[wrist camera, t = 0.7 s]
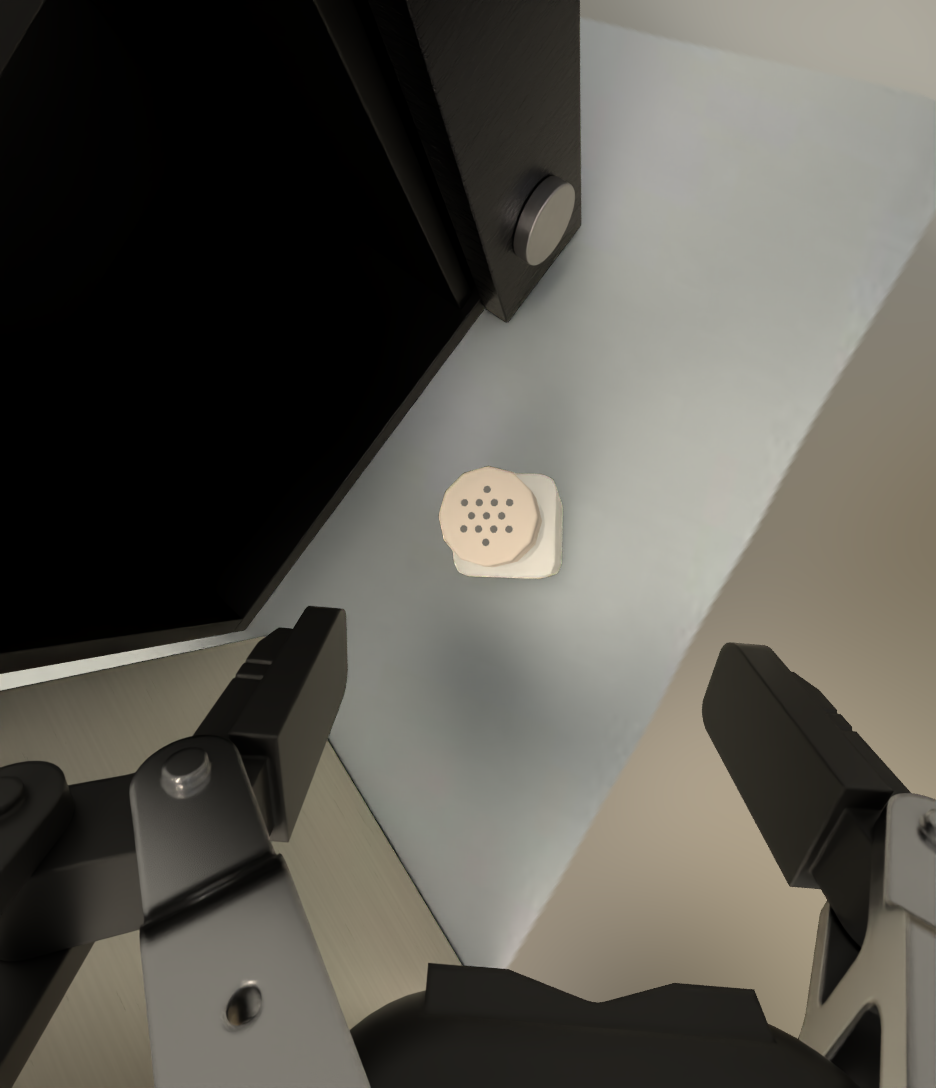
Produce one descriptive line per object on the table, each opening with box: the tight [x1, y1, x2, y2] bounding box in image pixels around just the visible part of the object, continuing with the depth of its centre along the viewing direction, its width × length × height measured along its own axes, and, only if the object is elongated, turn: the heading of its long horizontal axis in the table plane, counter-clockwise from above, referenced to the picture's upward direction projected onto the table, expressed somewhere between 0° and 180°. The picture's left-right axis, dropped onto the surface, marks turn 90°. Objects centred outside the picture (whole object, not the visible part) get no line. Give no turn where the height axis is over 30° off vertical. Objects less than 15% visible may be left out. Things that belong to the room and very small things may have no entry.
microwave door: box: [0, 636, 462, 1088], centre depth 17 cm, size 5×22×20 cm, turn 36°
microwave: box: [0, 0, 581, 674], centre depth 19 cm, size 24×28×20 cm
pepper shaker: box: [438, 466, 563, 579], centre depth 20 cm, size 4×4×10 cm
